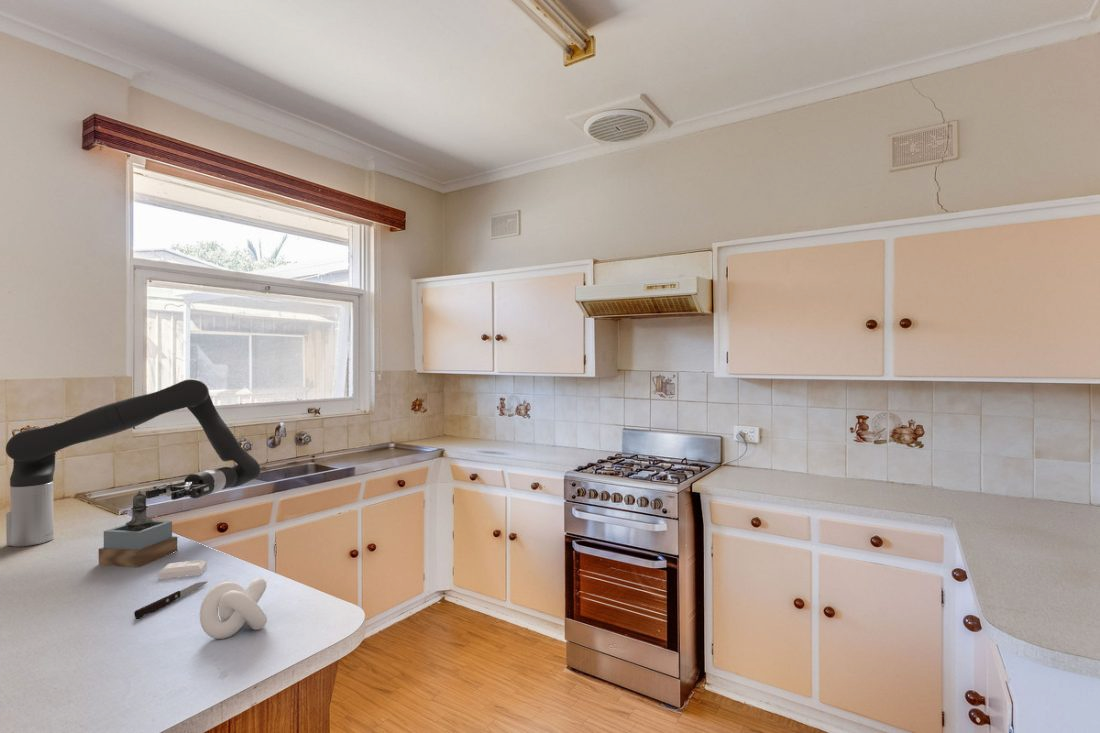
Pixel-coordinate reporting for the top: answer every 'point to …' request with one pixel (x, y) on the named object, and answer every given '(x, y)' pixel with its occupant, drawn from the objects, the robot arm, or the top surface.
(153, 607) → the kitchen knife
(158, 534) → the blue-grey square tray
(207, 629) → the white knot sculpture
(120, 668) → the top surface
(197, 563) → the soap bar
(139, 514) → the salt shaker
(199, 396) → the robot arm
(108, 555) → the tower base
